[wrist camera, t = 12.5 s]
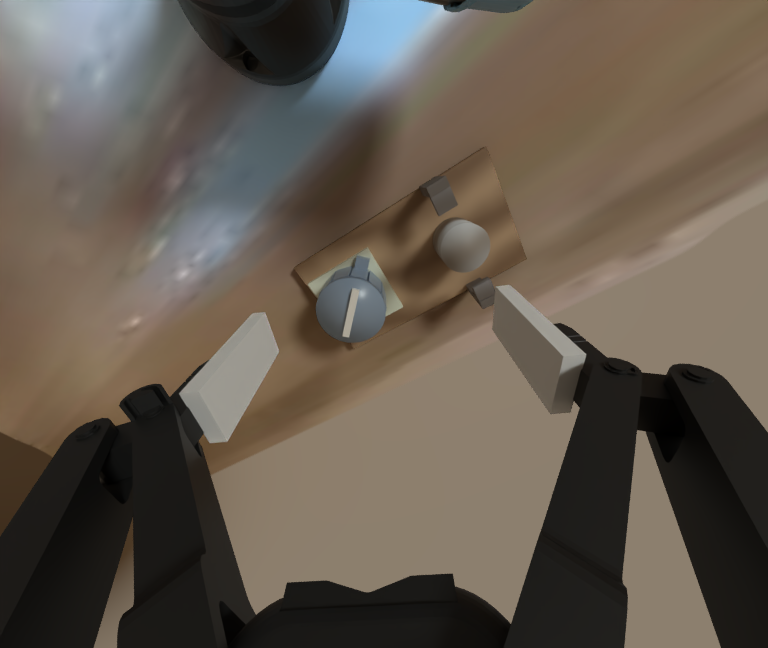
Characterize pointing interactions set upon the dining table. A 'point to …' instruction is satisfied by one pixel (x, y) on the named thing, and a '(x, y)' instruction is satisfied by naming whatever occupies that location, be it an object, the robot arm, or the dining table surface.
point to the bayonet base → (430, 243)
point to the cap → (352, 303)
